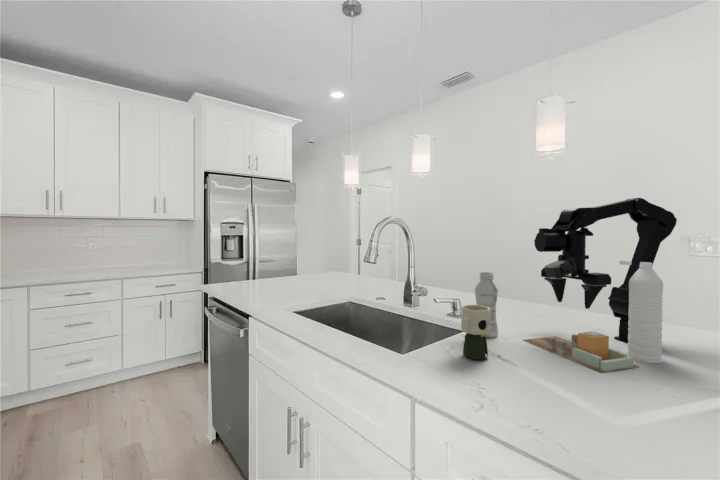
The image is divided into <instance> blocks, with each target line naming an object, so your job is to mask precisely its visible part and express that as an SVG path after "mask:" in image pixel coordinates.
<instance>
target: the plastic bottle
mask: <svg viewBox="0 0 720 480" xmlns="http://www.w3.org/2000/svg"><path fill="white" fill-rule="evenodd" d="M479 280H480V281H479V282H478V283H477V284H476V286H475V288H474V293H475V294H474V295H475V296H474V297H475V301H476V302H475V303H476V304H475V305H482V306H486V307H489V308H490V321H489V326H490V332H489V334H485V337H486V339H495V338H497V337H498V336H499V335H498V334H499V329H498V328H499V326H498V324H497V323H498V321H497V300H498V296H499V295H498V294H499V291H498V287H497V285H495V283H494V282H493V280H494V273H493V272H480V273H479Z"/></svg>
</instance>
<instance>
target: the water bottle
mask: <svg viewBox="0 0 720 480" xmlns="http://www.w3.org/2000/svg"><path fill="white" fill-rule="evenodd" d="M631 263H632V260H625V259H624V260H622V259H621V260H619V263H618V264H619V265H622V266H624V265H625V266H626V265H627V266H630V265H631ZM639 266H640V268H639V269H638V270H637V271H636V272H635V273H634V274H633V276H632V277H631V278H630V280H629V312H628V318H629V320H628V326H629V328H628V332H629V333H628V341H629V342H627V357H631V358H633V361H634V360H635V361H638V362H643V363H647V364H648V363H649V364H660V363H662V361H663V359H662V352H663V351H662V346H663V343H662V342H663V340H662V339H663V333H662V331H663V302H664V299H663V296H664V294H663V291H664V282H663V280H662V279H661V277H660V276H659V275H658V273H657V272H656V271H655V270H654V269H653V267H654V266H653V265H652V263H650V262H640V265H639Z"/></svg>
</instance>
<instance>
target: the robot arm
mask: <svg viewBox="0 0 720 480" xmlns="http://www.w3.org/2000/svg"><path fill="white" fill-rule="evenodd" d="M626 214H627V215H628V216H629V218H630V219H631V220H632V221H633V222H634V223H636V224H637V225H636V232H637V235H638V241H637V244H636V247H635V250H634V253H633V255H632V258H631V261H632V263H631V265H628V266H629V267H628V268H627V272H626V276H625V278H624V281H623V283H622V284H621V285H620V286H619V287H618V286H613V287H612V288H611V292H610V294H609V297H607V300H609V302H608V306H609V307H610V310H611V311H612V314H613V316H614V317H615V318H619V325H618V335H617V336H614V337H613V338H614V339H615V340H618V341H621V342H625V343H628V342H629V341H628V333H629V332H628V328H629V326H628V320H629V318H628V312H629V280H630V278H631V277H632V276H633V274H634V273H635V272H636V271H637V270H638V269H639V268H640V266H639V265H640V262H650V263H652V266H653V265H654V262H655V261H656V260H655V259H656V256H657V254H658V251H659V248H660V246H661V243H662V242H663V241H664V240H666V239H667V238H668V237H669V236H670V235H671V234H672V232H673V231H674V229H675V227H676V224H677V221H678V220H677V219H678V218H676V216H675V214H674V213H673V212H672V211H670V210H667V209H666V208H664V207H661V206H659V205H656V204H654V203H651V202H649V201H648V200H646V199H644V198H642V197H634V198H633V197H632V198H626V199H624V200H621V201H620V200H619V201H616V202H611V203H607V204H604V205H603V204H602V205H598V206H593V207H591V206H590V207H574V208H566V209H563V210H562V211H561V212H560V214H559V217H558V219H557V220H556V221H555V223H554V224H553V226H552V227H551V228H546V227H545V228H539V229H538V232H537V233H536V235H535V239H534V247H535V249H536V251H538V252H539V253H541V252H542V253H543V252H544V253H550V252H551V253H554V252H555V253H556V252H557V253H559V252H561V254H558V256H557V260H555V261H553V262H551V263H549V264H546V265H544V267H543V268H542V269H541V270H540V277H542V278H543V279H544V280H545V281H547V282H549V284H550V286H552V289H553V292H554V295H555V298H556V300H557V302H558V303H561V302H562V301H563V299H564V295H565V294H564V293H565V290H566V284H567V279H572V280H573V279H574V280H579V281H582V283H583V284H580V285H581V288H582V289H583V290H584V308H585V309H588V310H589V309H590V308H591V307H592V304H593V303H594V301H595V299H596V298H597V297H598V294H599V293H600V292H601V291H602V290H603V288H606V287H607V285H610V286H611V285H612V277H611V276H610V274H608V273H605V272H604V273H603V272H590V271H589V269H586V260H589V259H590V255H587V254H586V248H587V247H586V244H587V243H586V241H587V237H593V236H594V233H593V232H592V231H591V230H589V228H588V226H591V225H594V224H595V223H596V222H598V221H600V220H604V219H609V218H613V217H617V216H622V215H626ZM566 232H567V233H566Z"/></svg>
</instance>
